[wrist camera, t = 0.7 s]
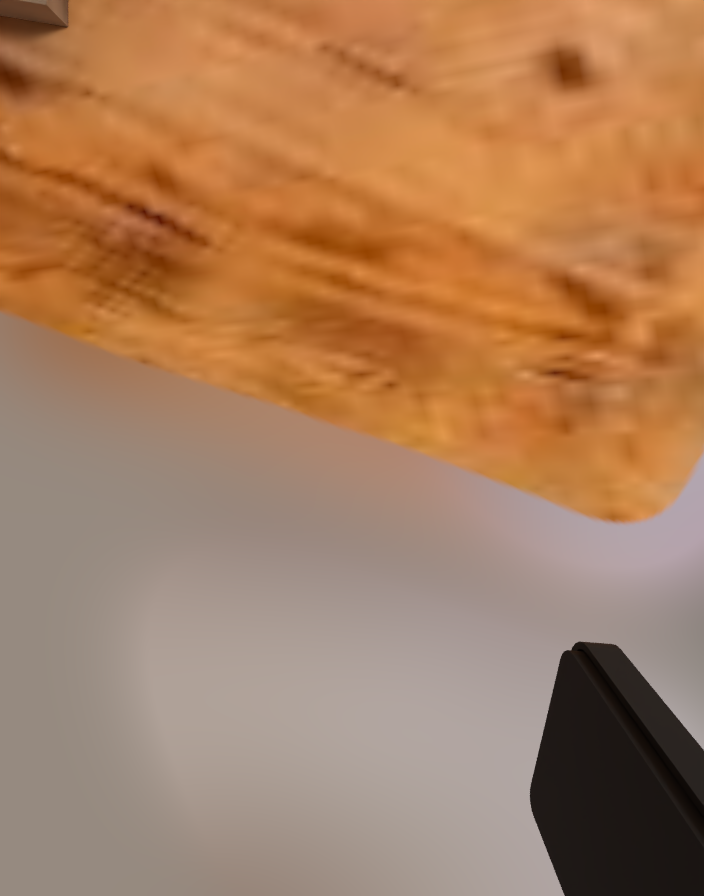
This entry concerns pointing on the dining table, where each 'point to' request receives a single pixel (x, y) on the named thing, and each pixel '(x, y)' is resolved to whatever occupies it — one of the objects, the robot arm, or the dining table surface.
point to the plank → (37, 10)
